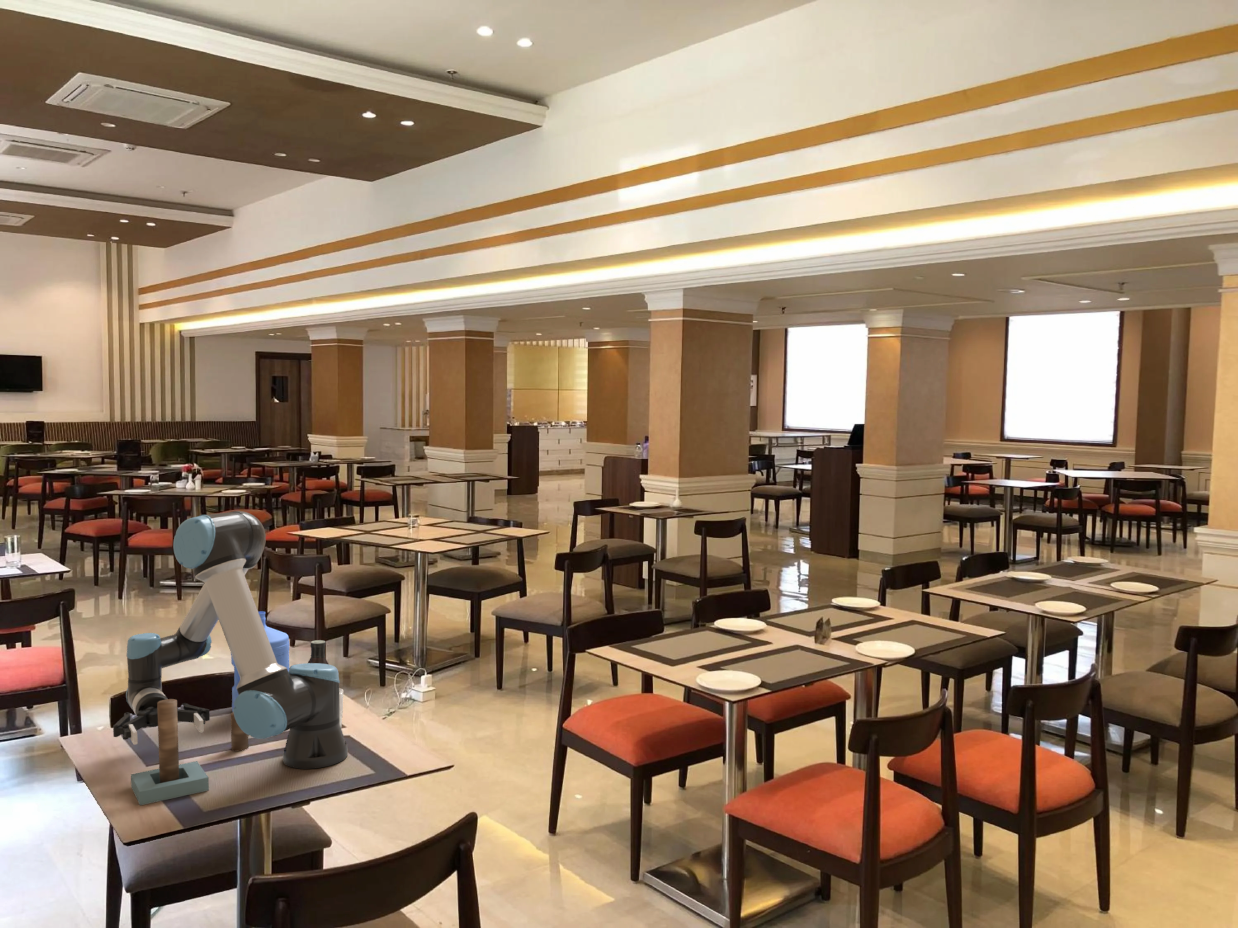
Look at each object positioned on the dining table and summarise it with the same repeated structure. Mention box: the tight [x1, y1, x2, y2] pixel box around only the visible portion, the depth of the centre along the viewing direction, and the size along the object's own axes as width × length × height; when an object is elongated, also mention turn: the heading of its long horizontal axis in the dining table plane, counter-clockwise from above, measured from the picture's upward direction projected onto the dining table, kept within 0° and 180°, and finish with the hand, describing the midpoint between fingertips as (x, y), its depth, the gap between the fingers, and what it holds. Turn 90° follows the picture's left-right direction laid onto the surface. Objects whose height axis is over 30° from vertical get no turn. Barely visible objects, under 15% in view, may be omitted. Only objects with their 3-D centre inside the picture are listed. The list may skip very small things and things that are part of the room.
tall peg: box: [157, 698, 180, 783], centre depth 215 cm, size 4×4×20 cm
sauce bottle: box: [307, 639, 329, 664], centre depth 270 cm, size 7×6×20 cm
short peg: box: [230, 711, 249, 752], centre depth 241 cm, size 4×4×9 cm
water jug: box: [230, 610, 290, 712], centre depth 270 cm, size 16×16×28 cm
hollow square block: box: [130, 760, 210, 806], centre depth 216 cm, size 12×14×3 cm
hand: (169, 732), depth 213 cm, fingers open, 13 cm apart
